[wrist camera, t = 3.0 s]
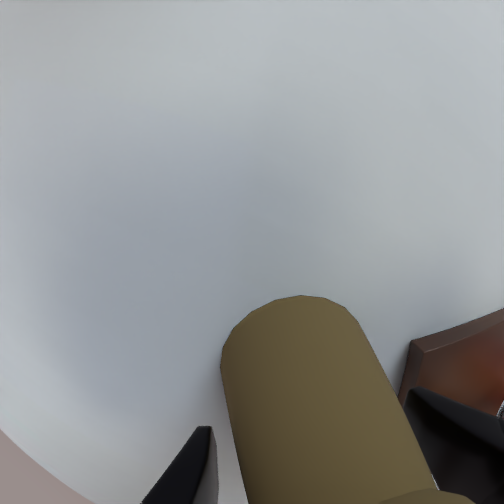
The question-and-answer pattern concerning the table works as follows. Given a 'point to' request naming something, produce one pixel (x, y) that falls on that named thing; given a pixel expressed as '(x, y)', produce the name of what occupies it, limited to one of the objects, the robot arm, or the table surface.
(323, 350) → the cork
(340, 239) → the table surface
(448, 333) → the walnut board
